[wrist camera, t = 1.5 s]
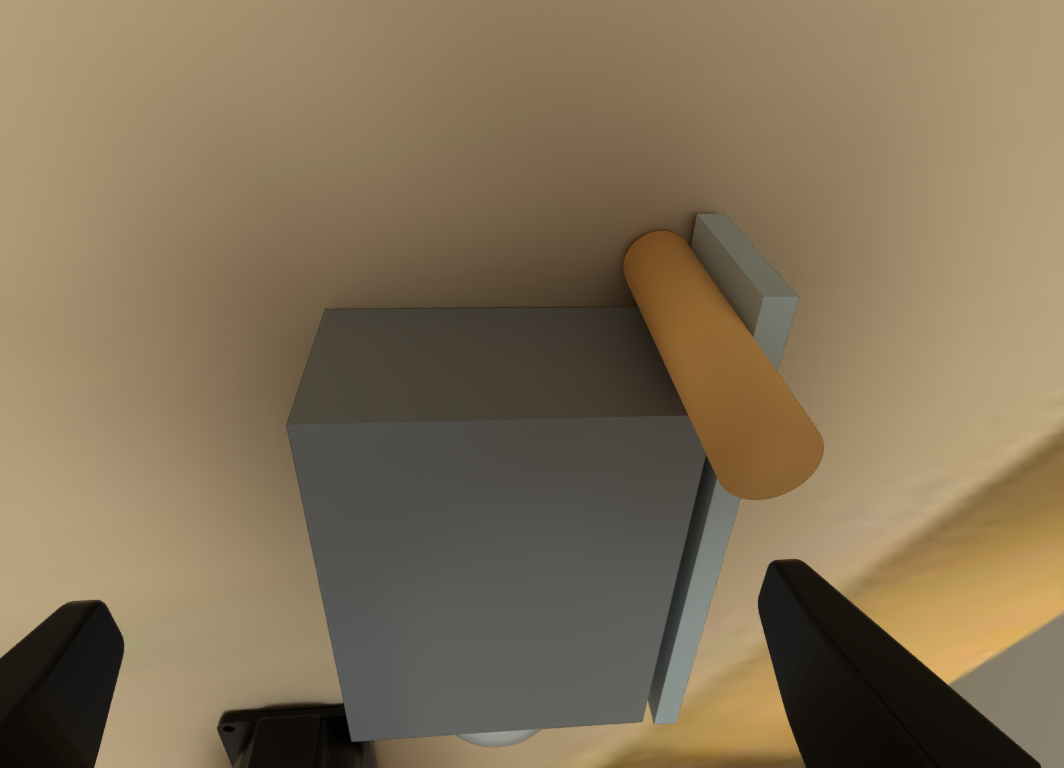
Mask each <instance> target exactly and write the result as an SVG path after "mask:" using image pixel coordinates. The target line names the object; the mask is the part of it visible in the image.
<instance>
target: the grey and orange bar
mask: <svg viewBox="0 0 1064 768" xmlns="http://www.w3.org/2000/svg"><path fill="white" fill-rule="evenodd" d="M623 272H624V276H625V279H626V281H627V283H628V285H629V288H630V290H631V292H632V294H633V296H634V298H635V301H636V303H637V305H638V307H639V309H640V311H641V314H642V316H643V318H644V320H645V322H646V324H647V327H648V329H649V331H650V333H651V335H652V337H653V340H654V342H655V344H656V346H657V348H658V350H659V353H660V355H661V357H662V359H663V361H664V364H665V366H666V368H667V370H668V372H669V374H670V377H671V379H672V381H673V383H674V385H675V387H676V390H677V392H678V394H679V396H680V398H681V400H682V403H683V405H684V407H685V409H686V411H687V413H688V416H689V418H690V420H691V422H692V424H693V426H694V429H695V431H696V433H697V435H698V437H699V439H700V442H701V444H702V446H703V448H704V450H705V453H706V457H705V461H704V465H703V469H702V474H701V478H700V482H699V486H698V490H697V494H696V499H695V503H694V507H693V511H692V515H691V520H690V524H689V528H688V532H687V536H686V541H685V545H684V549H683V553H682V557H681V562H680V566H679V570H678V574H677V578H676V583H675V587H674V591H673V595H672V599H671V604H670V608H669V612H668V616H667V620H666V625H665V629H664V633H663V637H662V641H661V646H660V650H659V654H658V658H657V662H656V667H655V671H654V675H653V679H652V683H651V688H650V692H649V696H648V702H649V706H650V711H651V715H652V719H653V723H654V725H656V724H670V723H676V721H677V717H678V714H679V710H680V707H681V703H682V700H683V696H684V693H685V690H686V686H687V683H688V679H689V676H690V672H691V669H692V665H693V662H694V658H695V655H696V652H697V648H698V645H699V641H700V638H701V634H702V631H703V627H704V624H705V620H706V617H707V614H708V610H709V607H710V603H711V600H712V596H713V593H714V589H715V586H716V582H717V579H718V576H719V572H720V569H721V565H722V562H723V558H724V555H725V551H726V548H727V544H728V541H729V538H730V534H731V531H732V527H733V524H734V520H735V517H736V513H737V510H738V506H739V503H740V499H741V498H743V499H749V500H762V499H769V498H773V497H777V496H780V495H783V494H785V493H787V492H789V491H791V490H793V489H795V488H797V487H798V486H800V485H801V484H802V483H804V482H805V481H806V480H807V479H808V478H809V477H810V476H811V475H812V474H813V473H814V471H815V470H816V469H817V467H818V465H819V464H820V461H821V459H822V456H823V451H824V443H823V439H822V436H821V434H820V432H819V431H818V429H817V428H816V427H815V425H814V424H813V422H812V421H811V419H810V418H809V417H808V415H807V414H806V412H805V411H804V409H803V408H802V407H801V405H800V404H799V402H798V401H797V399H796V398H795V396H794V395H793V394H792V392H791V391H790V389H789V388H788V386H787V385H786V384H785V382H784V381H783V379H782V378H781V376H780V375H779V374H778V368H779V365H780V361H781V358H782V354H783V351H784V347H785V344H786V341H787V337H788V334H789V330H790V327H791V323H792V320H793V316H794V313H795V309H796V306H797V303H798V299H799V296H798V295H797V294H796V293H795V291H794V290H793V289H792V288H791V287H790V286H789V285H788V284H787V283H786V281H785V280H784V279H783V278H782V277H781V276H780V275H779V274H778V272H777V271H776V270H775V269H774V268H773V267H772V266H771V265H770V263H769V262H768V261H767V260H766V259H765V258H764V257H763V256H762V254H761V253H760V252H759V251H758V250H757V249H756V248H755V247H754V246H753V244H752V243H751V242H750V241H749V240H748V239H747V238H746V237H745V235H744V234H743V233H742V232H741V231H740V230H739V229H738V228H737V226H736V225H735V224H734V223H733V222H732V221H731V220H730V219H729V217H728V216H727V215H726V214H697V217H696V223H695V228H694V234H693V239H692V245H691V248H690V246H689V245H688V243H687V242H686V241H685V240H684V239H683V238H682V237H681V236H680V235H678V234H676V233H673V232H669V231H655V232H651V233H648V234H646V235H644V236H642V237H641V238H639V239H638V240H637V241H636V242H635V243H633V245H632V246H631V247H630V248H629V250H628V252H627V254H626V256H625V259H624V263H623Z"/></svg>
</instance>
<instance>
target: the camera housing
mask: <svg viewBox="0 0 1064 768" xmlns="http://www.w3.org/2000/svg"><path fill="white" fill-rule="evenodd" d="M286 426H287V431H288V436H289V441H290V446H291V450H292V455H293V460H294V465H295V470H296V475H297V479H298V484H299V489H300V494H301V499H302V504H303V508H304V513H305V518H306V523H307V528H308V533H309V537H310V542H311V547H312V552H313V557H314V562H315V567H316V571H317V576H318V581H319V586H320V591H321V596H322V600H323V605H324V610H325V615H326V620H327V625H328V629H329V634H330V639H331V644H332V649H333V654H334V658H335V663H336V668H337V673H338V678H339V683H340V687H341V692H342V697H343V702H344V707H345V712H346V717H347V721H348V726H349V731H350V736H351V741H352V742H356V741H370V740H385V739H400V738H415V737H430V736H444V735H456V736H458V737H460V738H461V739H463V740H465V741H467V742H470V743H472V744H476V745H480V746H486V747H503V746H510V745H513V744H517V743H520V742H522V741H525V740H527V739H528V738H530V737H532V736H534V735H535V734H536V733H538V732H539V731H540V730H541V729H548V728H563V727H578V726H592V725H607V724H622V723H637V722H642V721H643V717H644V713H645V709H646V704H647V700H648V696H649V692H650V688H651V683H652V679H653V675H654V671H655V667H656V662H657V658H658V654H659V650H660V646H661V641H662V637H663V633H664V629H665V625H666V620H667V616H668V612H669V608H670V604H671V599H672V595H673V591H674V587H675V583H676V578H677V574H678V570H679V566H680V562H681V557H682V553H683V549H684V545H685V541H686V536H687V532H688V528H689V524H690V520H691V515H692V511H693V507H694V503H695V499H696V494H697V490H698V486H699V482H700V478H701V474H702V469H703V465H704V461H705V457H706V453H705V450H704V448H703V446H702V444H701V442H700V439H699V437H698V435H697V433H696V431H695V429H694V426H693V424H692V422H691V420H690V418H689V416H688V413H687V411H686V409H685V407H684V405H683V403H682V400H681V398H680V396H679V394H678V392H677V390H676V387H675V385H674V383H673V381H672V379H671V377H670V374H669V372H668V370H667V368H666V366H665V364H664V361H663V359H662V357H661V355H660V353H659V350H658V348H657V346H656V344H655V342H654V340H653V337H652V335H651V333H650V331H649V329H648V327H647V324H646V322H645V320H644V318H643V316H642V314H641V311H640V309H639V307H551V308H423V309H325V310H324V313H323V316H322V319H321V322H320V325H319V328H318V331H317V334H316V337H315V340H314V343H313V346H312V349H311V352H310V355H309V358H308V361H307V364H306V367H305V370H304V373H303V376H302V379H301V382H300V385H299V388H298V391H297V394H296V397H295V400H294V403H293V406H292V409H291V412H290V415H289V418H288V421H287V424H286Z"/></svg>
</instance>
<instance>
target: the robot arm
mask: <svg viewBox="0 0 1064 768" xmlns="http://www.w3.org/2000/svg"><path fill="white" fill-rule="evenodd" d="M758 610H759V615H760V619H761V623H762V626H763V630H764V634H765V638H766V641H767V645H768V649H769V653H770V656H771V660H772V664H773V668H774V671H775V675H776V679H777V683H778V686H779V690H780V694H781V697H782V701H783V705H784V708H785V711H786V715H787V718H788V721H789V724H790V727H791V730H792V732H793V735H794V738H795V740H796V743H797V746H798V748H799V751H800V753H801V756H802V759H803V761H804V764H805V767H806V768H1041V765H1040V764H1039V762H1037V761H1036V760H1035V759H1034V758H1033V757H1032V756H1030V755H1029V754H1028V753H1027V752H1026V751H1025V750H1023V749H1022V748H1021V747H1020V746H1019V745H1018V744H1016V743H1015V742H1014V741H1013V740H1012V739H1011V738H1009V737H1008V736H1007V735H1006V734H1005V733H1004V732H1002V731H1001V730H1000V729H999V728H998V727H997V726H995V725H994V724H993V723H992V722H991V721H989V720H988V719H987V718H986V717H985V716H984V715H982V714H981V713H980V712H979V711H978V710H977V709H975V708H974V707H973V706H972V705H971V704H970V703H968V702H967V701H966V700H965V699H964V698H963V697H961V696H960V695H959V694H958V693H957V692H956V691H955V690H953V689H952V688H951V687H950V686H949V685H948V684H946V683H945V682H944V681H943V680H942V679H941V678H939V677H938V676H937V675H936V674H935V673H933V672H932V671H931V670H930V669H929V668H928V667H926V666H925V665H924V664H923V663H922V662H921V661H919V660H918V659H917V658H916V657H915V656H914V655H912V654H911V653H910V652H909V651H908V650H907V649H905V648H904V647H903V646H902V645H901V644H900V643H898V642H897V641H896V640H895V639H894V638H893V637H891V636H890V635H889V634H888V633H887V632H886V631H884V630H883V629H882V628H881V627H880V626H879V625H877V624H876V623H875V622H874V621H873V620H872V619H870V618H869V617H868V616H867V615H866V614H865V613H863V612H862V611H861V610H860V609H859V608H858V607H856V606H855V605H854V604H853V603H852V602H851V601H849V600H848V599H847V598H846V597H845V596H844V595H842V594H841V593H840V592H839V591H838V590H837V589H835V588H834V587H833V586H832V585H831V584H829V583H828V582H827V581H826V580H825V579H824V578H822V577H821V576H820V575H819V574H818V573H817V572H815V571H814V570H813V569H812V568H811V567H810V566H808V565H807V564H806V563H805V562H803V561H801V560H798V559H785V560H774V561H772V562H771V563H770V564H769V566H768V568H767V572H766V575H765V578H764V581H763V584H762V587H761V590H760V593H759V597H758ZM123 654H124V640H123V636H122V634H121V632H120V630H119V628H118V626H117V624H116V623H115V621H114V619H113V617H112V615H111V613H110V611H109V609H108V607H107V606H106V604H105V603H104V602H102V601H100V600H84V601H72V602H68V603H66V604H64V605H62V606H61V607H60V608H58V609H57V610H56V611H55V612H54V613H52V614H51V615H50V616H49V617H48V618H47V619H45V620H44V621H43V622H42V623H41V624H40V625H38V626H37V627H36V628H35V629H34V630H33V631H31V632H30V633H29V634H28V635H27V636H26V637H24V638H23V639H22V640H21V641H20V642H19V643H17V644H16V645H15V646H14V647H13V648H12V649H10V650H9V651H8V652H7V653H6V654H5V655H3V656H2V657H1V658H0V768H94V766H95V763H96V759H97V756H98V752H99V748H100V744H101V740H102V737H103V733H104V729H105V725H106V721H107V717H108V713H109V709H110V705H111V701H112V698H113V694H114V690H115V686H116V682H117V678H118V674H119V670H120V666H121V662H122V659H123ZM217 730H218V733H219V735H220V738H221V740H222V742H223V745H224V747H225V750H226V752H227V755H228V757H229V760H230V762H231V765H232V767H233V768H377V767H376V761H375V755H374V750H373V744H372V740H370V741H356V742H352V741H351V736H350V731H349V726H348V721H347V717H346V712H345V707H338V708H322V709H306V710H290V711H274V712H258V713H242V714H228V715H224V716H222V717H221V718H220V720H219V723H218V727H217Z"/></svg>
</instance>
